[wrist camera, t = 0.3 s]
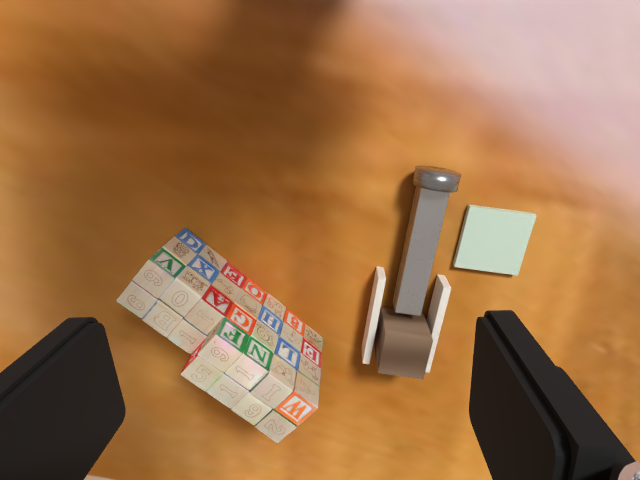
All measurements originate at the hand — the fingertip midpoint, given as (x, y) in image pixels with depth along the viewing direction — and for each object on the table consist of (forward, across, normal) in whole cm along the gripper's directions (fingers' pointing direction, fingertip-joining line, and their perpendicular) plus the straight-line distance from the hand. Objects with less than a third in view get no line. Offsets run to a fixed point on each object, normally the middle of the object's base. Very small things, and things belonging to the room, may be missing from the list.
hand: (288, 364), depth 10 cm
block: (+35, -7, +20) cm, 41 cm away
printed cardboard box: (+35, +12, +17) cm, 41 cm away
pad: (+35, -17, +10) cm, 40 cm away
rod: (+35, -9, +10) cm, 37 cm away
